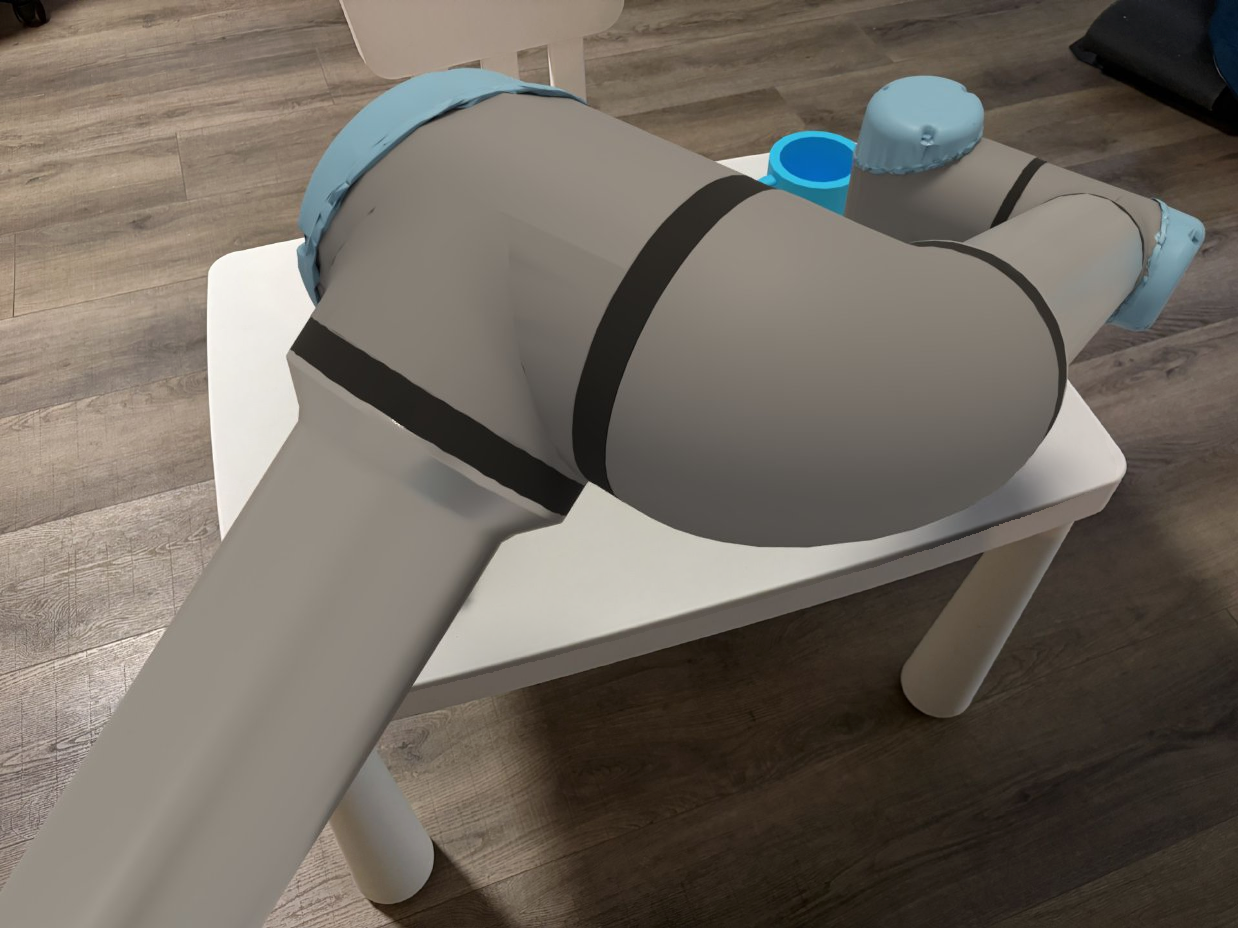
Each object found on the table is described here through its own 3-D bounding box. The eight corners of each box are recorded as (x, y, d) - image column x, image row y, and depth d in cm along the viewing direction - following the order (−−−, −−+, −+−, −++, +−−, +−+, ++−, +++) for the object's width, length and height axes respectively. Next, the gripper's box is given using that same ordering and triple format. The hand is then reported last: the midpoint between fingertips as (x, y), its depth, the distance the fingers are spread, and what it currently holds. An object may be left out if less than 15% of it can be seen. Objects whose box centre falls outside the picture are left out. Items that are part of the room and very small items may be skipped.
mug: (824, 201, 99) (838, 123, 92) (866, 254, 94) (885, 176, 87) (706, 230, 97) (711, 152, 90) (742, 286, 91) (752, 208, 84)
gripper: (745, 395, 71) (444, 376, 73) (752, 237, 82) (489, 224, 84) (753, 324, 65) (425, 306, 67) (760, 163, 76) (476, 152, 78)
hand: (461, 261), depth 76 cm, fingers closed on block, 5 cm apart
